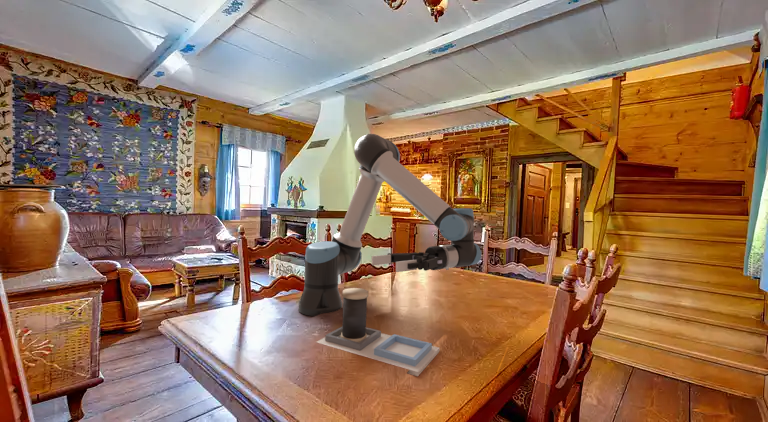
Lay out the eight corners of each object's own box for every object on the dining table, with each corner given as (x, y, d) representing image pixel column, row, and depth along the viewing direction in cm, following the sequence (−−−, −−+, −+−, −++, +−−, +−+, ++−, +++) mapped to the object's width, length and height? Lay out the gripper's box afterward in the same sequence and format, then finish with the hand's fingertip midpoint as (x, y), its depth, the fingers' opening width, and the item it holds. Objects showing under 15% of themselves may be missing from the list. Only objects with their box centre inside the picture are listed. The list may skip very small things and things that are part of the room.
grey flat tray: (315, 345, 89) (316, 336, 89) (347, 328, 103) (348, 319, 103) (417, 376, 76) (418, 365, 76) (439, 351, 89) (439, 342, 89)
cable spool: (335, 339, 91) (337, 292, 91) (350, 331, 97) (351, 286, 97) (357, 346, 88) (359, 296, 88) (371, 337, 94) (373, 290, 94)
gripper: (468, 275, 98) (408, 284, 87) (417, 263, 119) (363, 270, 109) (468, 249, 98) (408, 255, 87) (416, 242, 119) (363, 246, 108)
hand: (383, 263), depth 98 cm, fingers open, 13 cm apart
